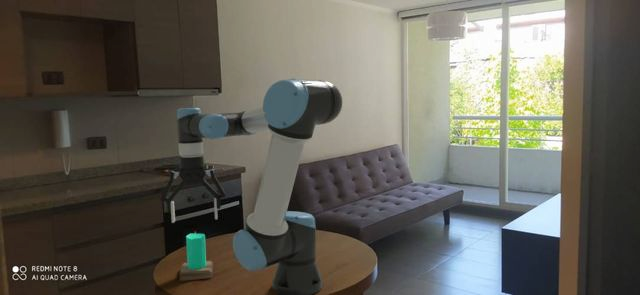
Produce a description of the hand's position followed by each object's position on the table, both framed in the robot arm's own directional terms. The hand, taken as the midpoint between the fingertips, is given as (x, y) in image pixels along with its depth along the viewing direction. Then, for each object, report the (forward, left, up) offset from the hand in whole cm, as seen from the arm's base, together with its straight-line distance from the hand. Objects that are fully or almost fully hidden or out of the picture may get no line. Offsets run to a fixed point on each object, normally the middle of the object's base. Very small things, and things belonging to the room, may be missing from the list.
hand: (195, 220), depth 150 cm
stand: (0, 0, -18) cm, 18 cm away
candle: (0, 0, -16) cm, 16 cm away
